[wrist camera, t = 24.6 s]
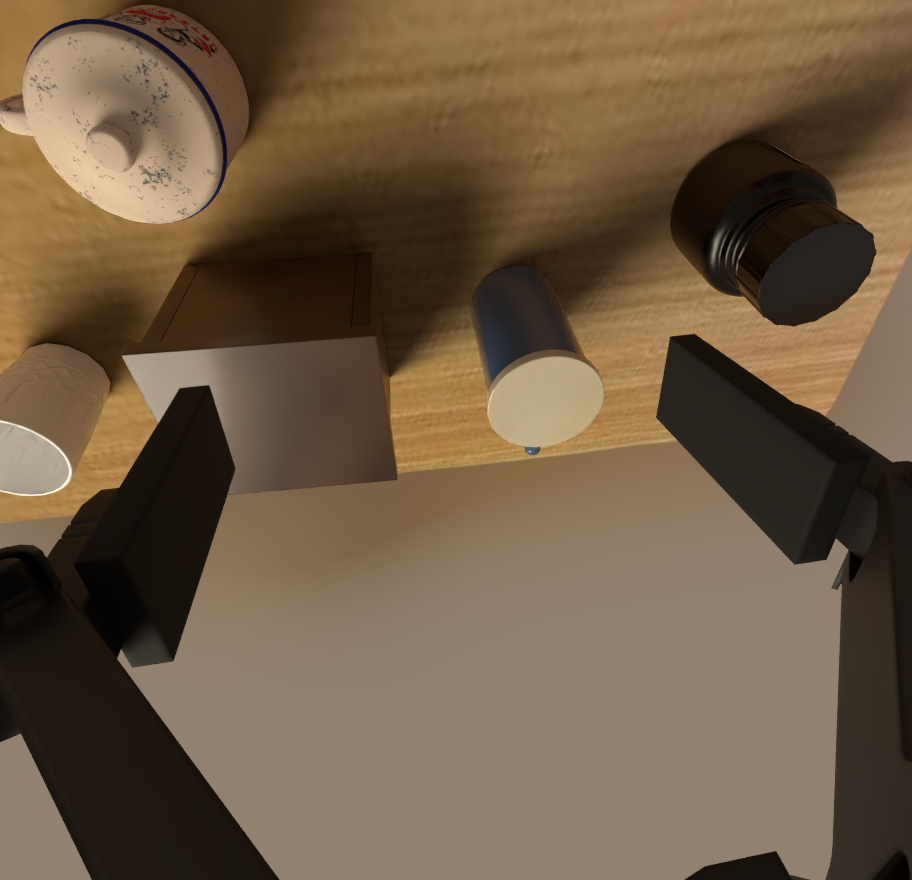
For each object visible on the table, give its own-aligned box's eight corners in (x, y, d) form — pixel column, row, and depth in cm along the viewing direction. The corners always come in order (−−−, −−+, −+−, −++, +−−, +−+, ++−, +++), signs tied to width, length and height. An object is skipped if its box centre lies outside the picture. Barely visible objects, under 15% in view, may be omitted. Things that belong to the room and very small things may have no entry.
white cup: (56, 419, 50) (1, 505, 42) (-13, 348, 44) (-90, 433, 37) (138, 400, 49) (96, 483, 42) (78, 326, 44) (18, 407, 36)
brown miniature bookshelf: (230, 394, 50) (197, 498, 41) (176, 260, 41) (120, 355, 32) (394, 381, 50) (397, 480, 42) (377, 246, 42) (375, 335, 33)
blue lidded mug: (467, 375, 51) (486, 479, 41) (465, 264, 43) (488, 361, 34) (551, 368, 51) (589, 470, 42) (564, 257, 44) (614, 351, 34)
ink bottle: (768, 252, 45) (860, 332, 36) (660, 271, 45) (726, 356, 37) (803, 120, 38) (925, 180, 30) (676, 144, 39) (761, 210, 30)
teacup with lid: (235, 2, 31) (181, 34, 23) (267, 172, 37) (233, 248, 29) (6, -8, 30) (-142, 22, 21) (78, 170, 36) (-14, 248, 28)
